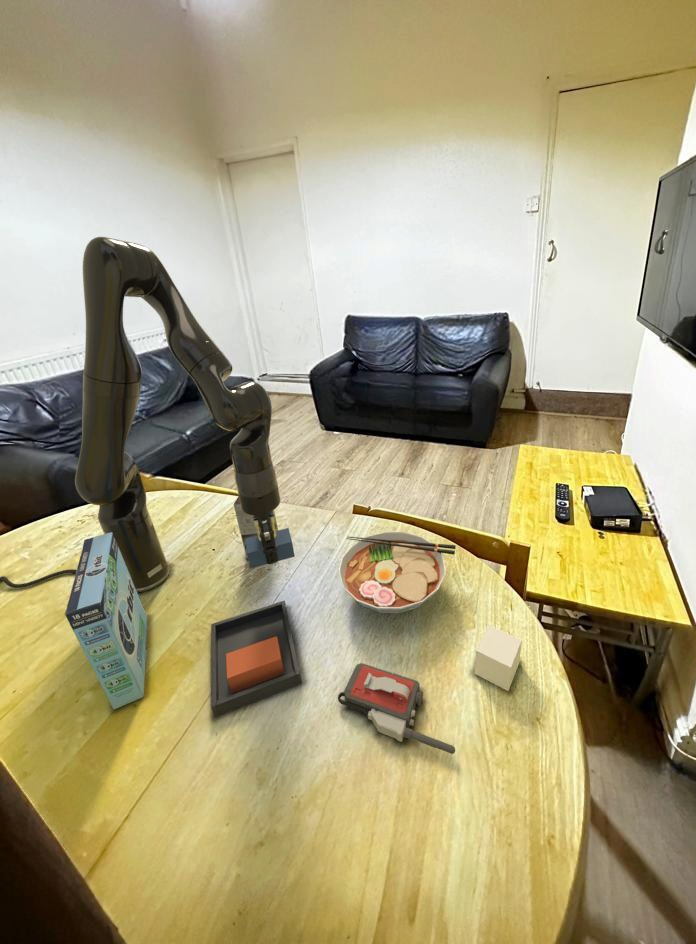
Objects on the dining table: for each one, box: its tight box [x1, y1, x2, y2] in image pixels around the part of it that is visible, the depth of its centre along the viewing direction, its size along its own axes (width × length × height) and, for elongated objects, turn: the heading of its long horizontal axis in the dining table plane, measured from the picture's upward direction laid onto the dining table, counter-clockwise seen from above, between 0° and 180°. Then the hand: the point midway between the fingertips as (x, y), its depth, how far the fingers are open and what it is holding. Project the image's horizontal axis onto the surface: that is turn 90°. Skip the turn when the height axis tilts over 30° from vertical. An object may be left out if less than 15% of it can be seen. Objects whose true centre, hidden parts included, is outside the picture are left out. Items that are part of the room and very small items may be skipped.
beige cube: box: [474, 624, 523, 692], centre depth 72 cm, size 6×6×6 cm
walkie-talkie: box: [337, 662, 456, 755], centre depth 66 cm, size 9×4×20 cm
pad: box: [226, 636, 284, 693], centre depth 74 cm, size 9×5×4 cm, turn 111°
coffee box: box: [233, 495, 279, 559], centre depth 103 cm, size 9×6×16 cm
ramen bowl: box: [337, 531, 457, 614], centre depth 89 cm, size 25×23×8 cm
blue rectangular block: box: [245, 527, 296, 569], centre depth 86 cm, size 9×5×4 cm, turn 110°
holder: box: [210, 600, 303, 718], centre depth 77 cm, size 15×18×3 cm
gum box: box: [64, 532, 148, 710], centre depth 74 cm, size 20×5×23 cm, turn 26°
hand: (271, 553), depth 87 cm, fingers closed on blue rectangular block, 5 cm apart
